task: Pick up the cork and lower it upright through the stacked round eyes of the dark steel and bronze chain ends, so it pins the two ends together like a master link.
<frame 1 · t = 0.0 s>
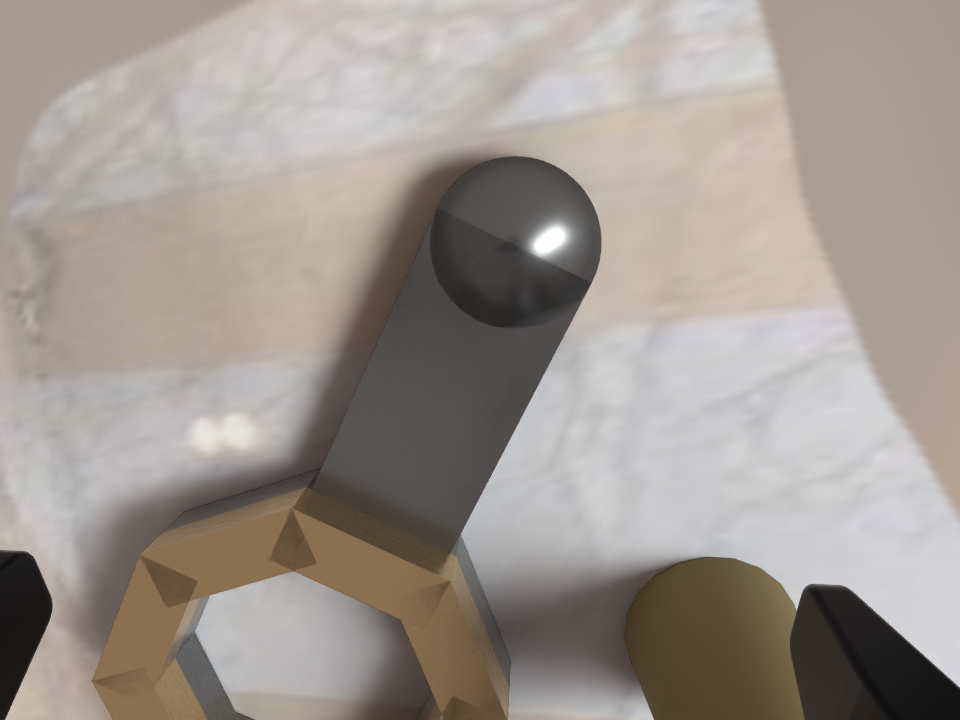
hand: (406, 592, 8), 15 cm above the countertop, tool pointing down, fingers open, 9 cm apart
lower chain end: (321, 643, 27), on the countertop
upper chain end: (321, 643, 27), resting on lower chain end
cork: (709, 629, 26), on the countertop
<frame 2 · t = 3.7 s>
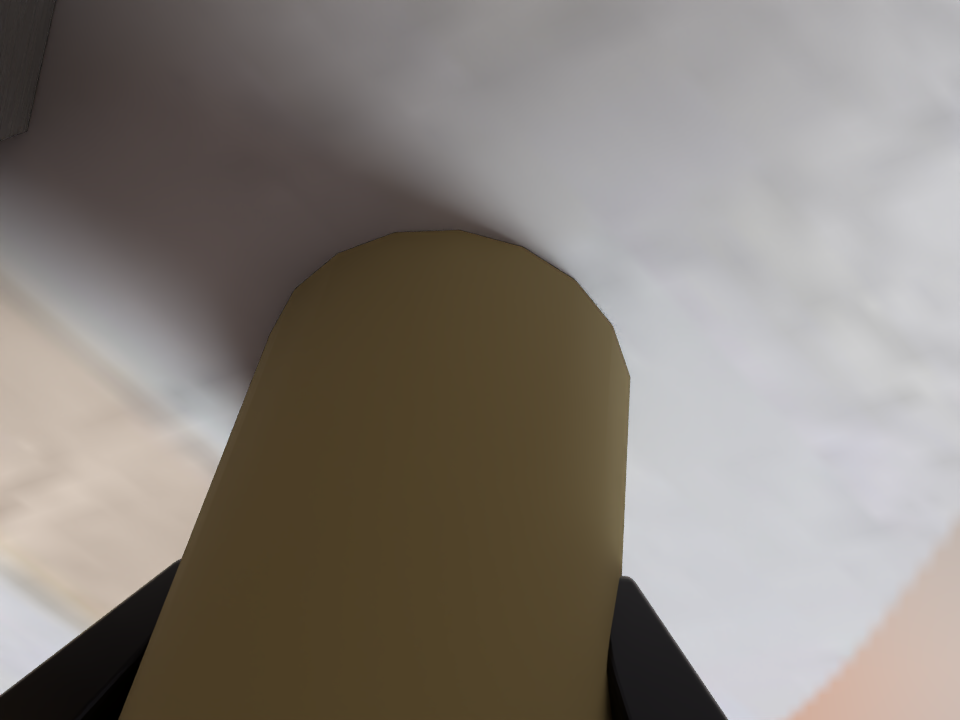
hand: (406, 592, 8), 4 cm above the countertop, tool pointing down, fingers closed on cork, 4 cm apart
cork: (446, 398, 12), on the countertop, touching gripper
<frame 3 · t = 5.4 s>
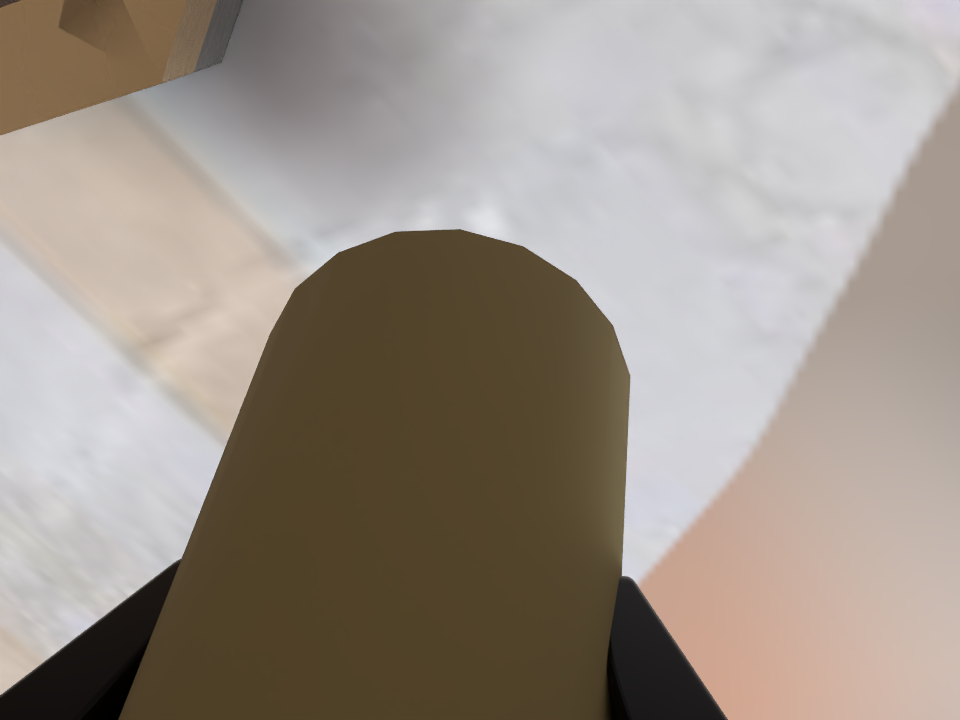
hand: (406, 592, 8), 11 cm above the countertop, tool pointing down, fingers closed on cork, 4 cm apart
cork: (446, 397, 12), point 7 cm above the countertop, touching gripper
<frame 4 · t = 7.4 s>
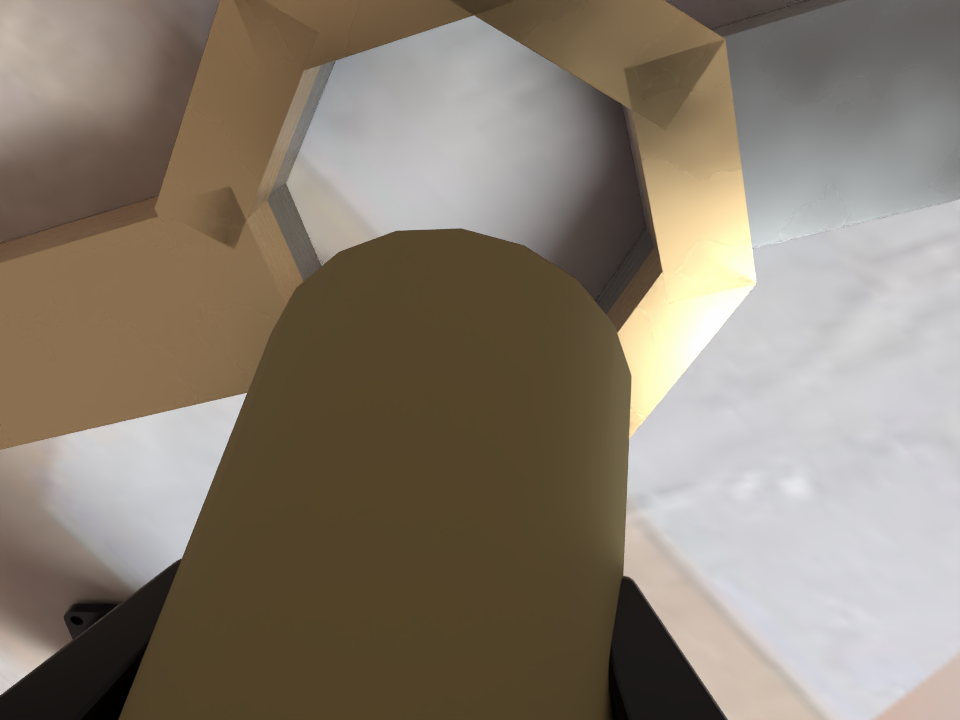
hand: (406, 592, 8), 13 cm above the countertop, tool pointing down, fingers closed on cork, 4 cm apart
lower chain end: (465, 205, 19), on the countertop
upper chain end: (465, 205, 19), resting on lower chain end
cork: (447, 397, 12), point 9 cm above the countertop, touching gripper
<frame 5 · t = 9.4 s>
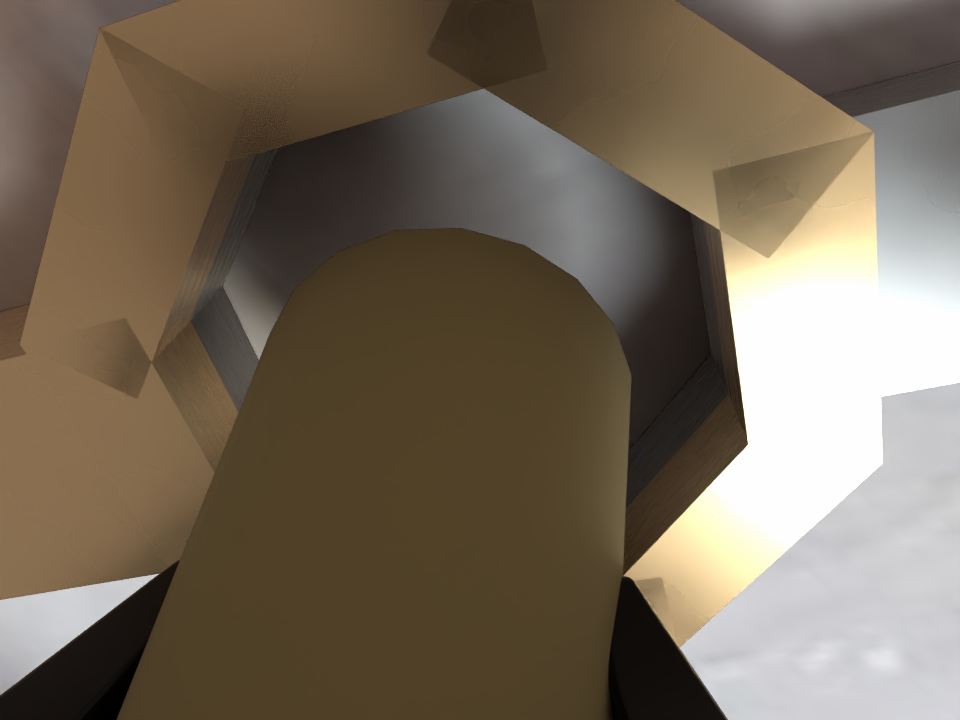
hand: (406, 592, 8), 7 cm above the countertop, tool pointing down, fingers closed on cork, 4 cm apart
lower chain end: (466, 320, 14), on the countertop
upper chain end: (466, 320, 14), resting on lower chain end
cork: (447, 396, 12), point 3 cm above the countertop, touching gripper
when the fingers open (5 cm above the countertop, at t = 11.0 s): cork stays where it is, on the countertop.
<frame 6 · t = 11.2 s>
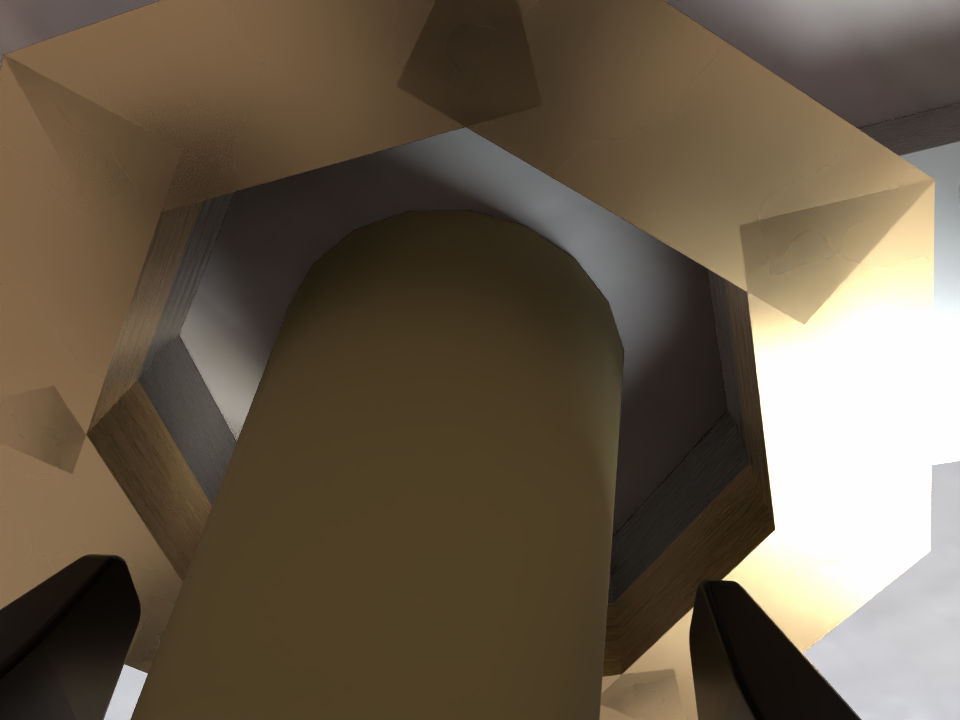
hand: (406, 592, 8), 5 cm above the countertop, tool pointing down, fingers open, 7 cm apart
lower chain end: (452, 372, 13), on the countertop
upper chain end: (452, 372, 13), resting on lower chain end
cork: (452, 369, 13), on the countertop
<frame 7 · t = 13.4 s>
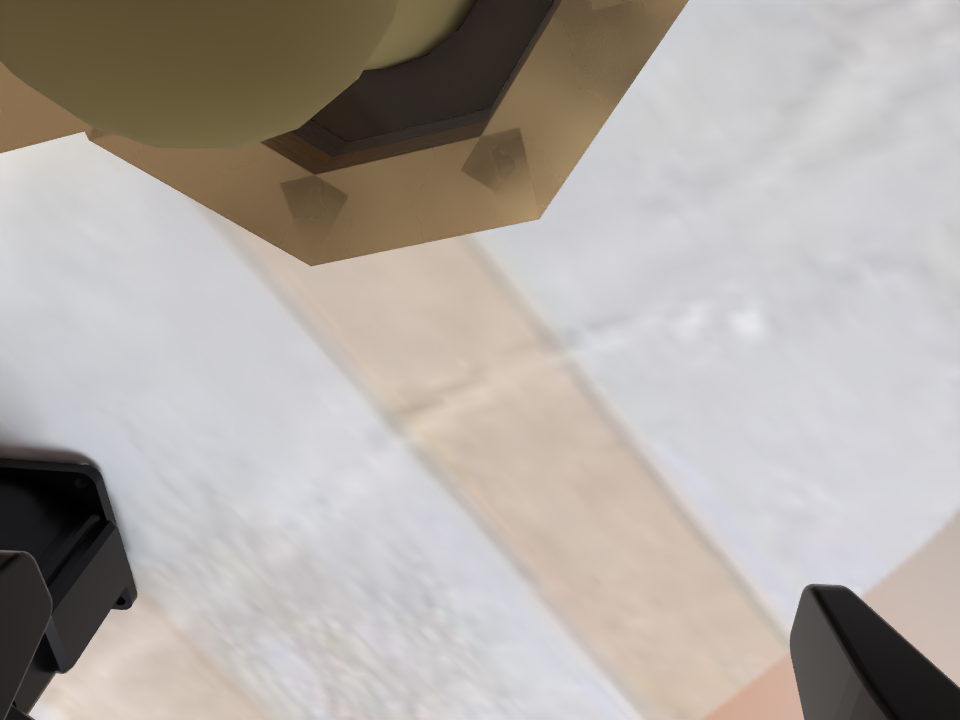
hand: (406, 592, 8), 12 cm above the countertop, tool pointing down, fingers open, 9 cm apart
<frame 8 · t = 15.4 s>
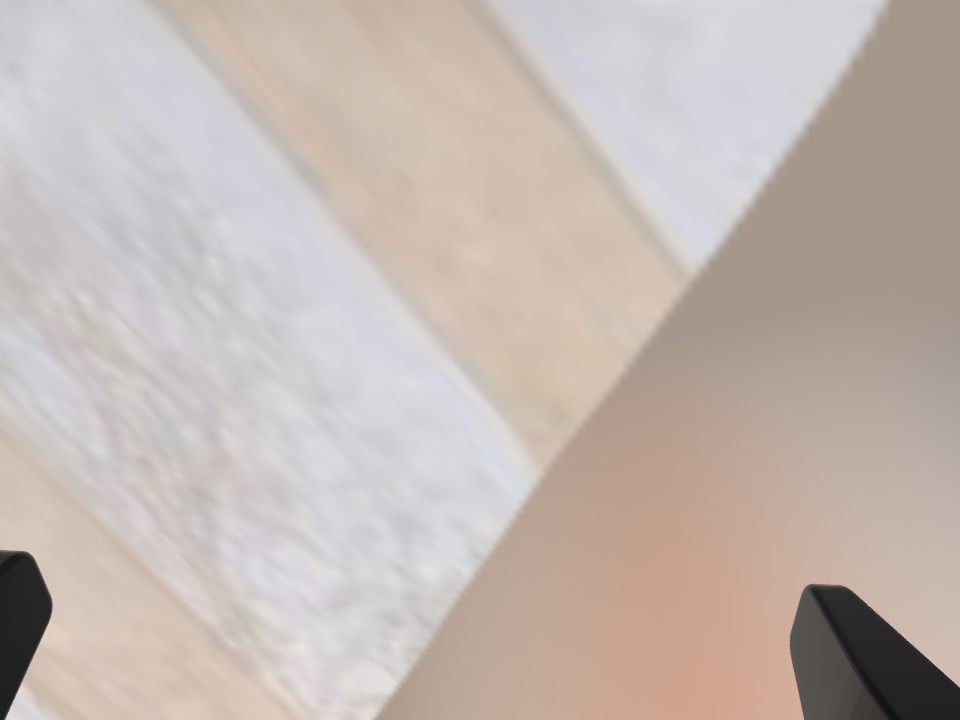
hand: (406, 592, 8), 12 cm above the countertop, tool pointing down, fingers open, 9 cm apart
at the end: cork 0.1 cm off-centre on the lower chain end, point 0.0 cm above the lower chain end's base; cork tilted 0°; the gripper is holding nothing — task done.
